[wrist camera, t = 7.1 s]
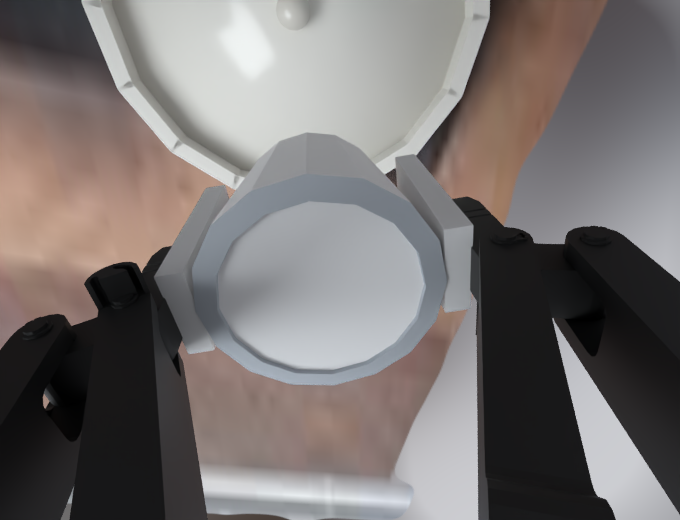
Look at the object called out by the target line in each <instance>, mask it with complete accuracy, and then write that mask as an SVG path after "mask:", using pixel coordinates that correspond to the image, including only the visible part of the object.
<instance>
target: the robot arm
mask: <svg viewBox="0 0 680 520" xmlns="http://www.w3.org/2000/svg"><path fill="white" fill-rule="evenodd" d="M395 162H396V176H397V188H398V190H399V191H400V192H401V193H402V194H403V195H404V196H405V197H406V198H407V199H408V200H409V201H410V202H411V204H412V205H413V206H414V207H415V209H416V210H417V211H418V213H419V214H420V215H421V217H422V218H423V219H424V220H425V222H426V223H427V224H428V226H429V227H430V228H431V230H432V231H433V232H434V233H435V235H436V236H437V237H438V239H439V240H440V245H441V250H442V256H443V261H444V267H445V272H446V278H447V284H446V287H445V291H444V294H443V298H442V301H441V305H442V307H443V309H444V311H445V313H446V312H453V311H459V310H465V309H470V308H471V292H472V294H473V296H474V297H475V299H476V300H477V319H476V321H477V322H476V335H477V403H478V404H477V408H478V512H479V513H478V517H479V518H478V519H479V520H616V519H615V516H614V513H613V510H612V508H611V507H610V505H609V504H608V502H607V500H606V499H603V498H600V497H598V496H597V495H596V493H595V491H594V489H593V485H592V482H591V478H590V474H589V470H588V465H587V462H586V457H585V453H584V449H583V445H582V441H581V436H580V432H579V429H578V424H577V420H576V416H575V411H574V407H573V403H572V399H571V395H570V391H569V387H568V383H567V378H566V374H565V370H564V366H563V362H562V358H561V353H560V349H559V345H558V341H557V337H556V333H555V329H554V324H553V321H552V318H554V321H555V323H556V324H557V326H558V327H559V329H560V331H561V332H562V334H563V335H564V337H565V338H566V340H567V341H568V343H569V344H570V346H571V347H572V349H573V351H574V352H575V353H576V355H577V357H578V358H579V360H580V361H581V363H582V364H583V366H584V367H585V369H586V371H587V372H588V374H589V375H590V377H591V378H592V380H593V381H594V383H595V384H596V386H597V388H598V389H599V391H600V392H601V394H602V395H603V397H604V398H605V400H606V401H607V403H608V405H609V406H610V408H611V409H612V411H613V412H614V414H615V415H616V417H617V418H618V420H619V421H620V423H621V425H622V426H623V428H624V429H625V430H626V432H627V434H628V435H629V437H630V438H631V440H632V442H633V443H634V444H635V446H636V448H637V449H638V451H639V452H640V454H641V455H642V457H643V458H644V460H645V462H646V463H647V464H648V466H649V468H650V469H651V471H652V472H653V474H654V475H655V477H656V478H657V480H658V482H659V483H660V485H661V486H662V488H663V489H664V491H665V492H666V494H667V496H668V497H669V499H670V500H671V502H672V503H673V505H674V506H675V508H676V509H677V511H678V512H679V514H680V282H679V281H678V280H677V279H676V278H674V277H673V276H672V275H671V274H670V273H668V272H667V271H666V270H664V269H663V268H662V267H661V266H660V265H659V264H657V263H656V262H655V261H654V260H653V259H651V258H650V257H649V256H648V255H647V254H645V253H644V252H643V251H642V250H641V249H639V248H638V247H637V246H636V245H634V244H633V243H632V242H631V241H630V240H628V239H627V238H626V237H625V236H624V235H622V234H620V233H618V232H617V231H614V230H610V229H607V228H605V227H598V226H590V227H580V228H575V229H573V230H571V231H569V232H568V233H567V235H566V239H565V244H536V243H534V242H533V238H532V237H531V236H530V234H528V233H526V232H525V231H523V230H520V229H516V228H508V227H504V226H503V225H502V224H501V223H500V222H499V221H498V220H497V219H496V218H495V217H494V216H493V215H491V213H490V212H489V211H488V210H487V209H486V208H485V207H484V206H483V205H482V204H481V203H480V202H479V201H477V200H475V199H472V198H470V197H462V198H456V199H451V198H450V196H449V195H448V194H447V193H446V192H445V190H444V189H443V188H442V187H441V186H440V184H439V183H438V182H437V181H436V180H435V179H434V177H433V176H432V175H431V174H430V173H429V171H428V170H427V169H426V168H425V167H424V165H423V164H422V163H421V162H420V161H419V159H418V158H417V157H416V156H415V155H414V154H411V155H405V156H398V157H395ZM228 200H229V197H228V194H227V190H226V187H225V185H222V186H216V187H210V188H206V189H205V191H204V192H203V194H202V196H201V198H200V199H199V201H198V203H197V204H196V206H195V208H194V209H193V211H192V213H191V215H190V216H189V218H188V220H187V221H186V223H185V225H184V227H183V228H182V230H181V232H180V233H179V235H178V237H177V238H176V240H175V242H174V244H173V245H172V246H169V247H163V248H162V249H160V250H159V251H158V252H157V253H155V254H154V255H153V256H152V257H151V258H150V260H149V261H148V263H147V266H145V268H144V269H143V271H142V273H141V271H140V269H139V267H138V265H137V264H136V263H133V262H122V263H117V264H113V265H110V266H108V267H105V268H103V269H101V270H99V271H97V272H95V273H94V274H92V275H91V276H90V277H89V278H88V279H87V280H86V282H85V283H84V285H85V287H86V288H87V290H88V292H89V294H90V296H91V297H92V299H93V301H94V303H95V304H96V306H97V308H98V317H97V318H94V319H91V320H88V321H85V322H82V323H79V324H76V325H74V326H71V325H70V323H69V322H68V320H67V319H66V317H65V316H64V315H60V314H54V315H48V316H44V317H39V318H36V319H34V321H33V320H32V321H30V322H28V323H26V324H25V326H23V327H21V328H20V329H18V330H17V331H16V332H15V333H14V334H13V335H12V336H11V337H10V338H9V340H8V341H7V342H6V343H5V345H4V346H3V347H2V348H1V350H0V520H61V517H62V515H63V512H64V509H65V507H66V504H67V502H68V499H69V497H70V494H71V492H72V489H73V487H74V491H73V499H72V507H71V513H70V520H208V518H207V512H206V506H205V499H204V493H203V486H202V480H201V474H200V467H199V461H198V454H197V448H196V442H195V435H194V429H193V423H192V416H191V410H190V403H189V397H188V391H187V384H186V378H185V371H184V365H183V361H182V359H181V357H180V355H179V353H178V349H179V346H180V343H181V341H183V343H184V345H185V347H186V350H187V352H188V354H193V353H199V352H205V351H212V350H214V349H215V343H214V341H213V340H212V338H211V336H210V335H209V333H208V331H207V330H206V328H205V326H204V325H203V323H202V322H201V320H200V318H199V317H198V315H197V313H196V312H195V303H194V290H193V278H192V267H193V264H194V262H195V260H196V257H197V255H198V253H199V250H200V248H201V246H202V243H203V241H204V239H205V237H206V234H207V232H208V230H209V227H210V225H211V224H212V222H213V221H214V220H215V218H216V217H217V216H218V214H219V213H220V211H221V210H222V209H223V207H224V206H225V205H226V203H227V202H228ZM43 394H45V396H46V397H47V398H48V400H49V401H50V402H49V404H48V405H47V407H46V409H45V408H44V406H43Z"/></svg>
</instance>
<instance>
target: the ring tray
mask: <svg viewBox="0 0 680 520" xmlns="http://www.w3.org/2000/svg"><path fill="white" fill-rule="evenodd" d="M82 4H83V7H84V9H85V12H86V14H87V17H88V19H89V21H90V24H91V26H92V29H93V31H94V33H95V36H96V38H97V41H98V43H99V46H100V48H101V50H102V53H103V55H104V58H105V60H106V62H107V65H108V67H109V70H110V72H111V74H112V77H113V79H114V82H115V84H116V87H117V89H118V91H119V92H120V93H121V94H122V95H123V96H124V98H125V99H126V100H127V101H128V102H129V103H130V105H131V106H132V107H133V108H134V109H135V110H136V112H137V113H138V114H139V115H140V116H141V117H142V119H143V120H144V121H145V122H146V123H147V124H148V126H149V127H150V128H151V129H152V130H153V131H154V133H155V134H156V135H157V136H158V137H159V138H160V140H161V141H162V142H163V143H164V144H165V146H166V147H167V148H168V149H169V150H170V151H171V152H172V153H173V154H175V155H177V156H179V157H180V158H182V159H184V160H185V161H187V162H189V163H190V164H192V165H194V166H195V167H197V168H199V169H200V170H202V171H204V172H205V173H207V174H209V175H211V176H212V177H214V178H216V179H217V180H219V181H221V182H222V183H224V184H226V185H227V186H229V187H231V188H232V189H236V190H237V188H238V187H239V185H240V184H241V183H242V181H243V180H244V179H245V177H246V176H247V174H248V173H249V172H250V170H251V169H252V168H253V166H254V165H255V163H256V162H257V161H258V159H259V158H261V157H262V156H263V155H264V154H265V153H266V152H267V151H269V150H270V149H271V148H272V147H273V146H274V145H275V144H277V143H278V142H279V141H281V140H284V139H287V138H290V137H294V136H297V135H300V134H303V133H306V132H308V133H319V134H330V135H336V136H338V137H340V138H342V139H343V140H345V141H347V142H349V143H351V144H353V145H355V146H356V147H358V148H360V149H361V150H362V151H363V152H364V153H365V154H366V156H367V157H368V158H369V159H370V160H371V161H372V162H373V163H374V164H375V165H376V166H377V167H378V168H379V169H380V170H381V171H382V173H383V174H384V175H385V174H386V173H388V172H389V171H391V170H393V169H394V168H396V162H395V157H398V156H405V155H411V154H414V155H415V156H416V155H417V154H418V152H419V151H420V150H421V149H422V147H423V146H424V145H425V143H426V142H427V141H428V140H429V138H430V137H431V136H432V135H433V133H434V132H435V131H436V129H437V128H438V127H439V126H440V124H441V123H442V122H443V121H444V119H445V118H446V117H447V115H448V114H449V113H450V112H451V110H452V109H453V108H454V107H455V105H456V104H457V103H458V102H459V100H460V99H461V98H462V96H463V93H464V90H465V87H466V84H467V81H468V78H469V75H470V73H471V70H472V67H473V64H474V61H475V58H476V55H477V53H478V50H479V47H480V44H481V41H482V38H483V35H484V32H485V30H486V27H487V24H488V21H489V18H490V0H82Z"/></svg>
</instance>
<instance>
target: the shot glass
mask: <svg viewBox="0 0 680 520" xmlns="http://www.w3.org/2000/svg"><path fill="white" fill-rule="evenodd" d="M192 278H193V290H194V303H195V312H196V313H197V315H198V317H199V318H200V320H201V322H202V323H203V325H204V326H205V328H206V330H207V331H208V333H209V335H210V336H211V338H212V340H213V341H214V343H215V345H216V346H217V347H218V348H219V349H221V350H222V351H223V352H225V353H226V354H227V355H229V356H230V357H231V358H233V359H234V360H235V361H237V362H238V363H240V364H241V365H242V366H244V367H245V368H246V369H248V370H249V371H250V372H253V373H257V374H260V375H263V376H266V377H269V378H272V379H275V380H279V381H282V382H285V383H288V384H294V385H337V384H340V383H344V382H348V381H352V380H355V379H359V378H363V377H366V376H370V375H374V374H376V373H378V372H379V371H381V370H383V369H384V368H386V367H387V366H389V365H391V364H392V363H394V362H395V361H397V360H399V359H400V358H402V357H403V356H405V355H407V354H408V353H410V352H411V351H412V350H413V348H414V347H415V346H416V345H417V343H418V342H419V341H420V340H421V338H422V337H423V336H424V335H425V334H426V332H427V331H428V330H429V329H430V327H431V326H432V325H433V324H434V322H435V321H436V319H437V315H438V312H439V308H440V305H441V301H442V298H443V294H444V291H445V287H446V284H447V278H446V272H445V267H444V261H443V256H442V250H441V245H440V240H439V239H438V237H437V236H436V235H435V233H434V232H433V231H432V230H431V228H430V227H429V226H428V224H427V223H426V222H425V220H424V219H423V218H422V217H421V215H420V214H419V213H418V211H417V210H416V209H415V207H414V206H413V205H412V204H411V202H410V201H409V200H408V199H407V198H406V197H405V196H404V195H403V194H402V193H401V192H400V191H399V190H398V188H397V187H396V186H395V185H394V184H393V183H392V182H391V181H390V180H389V179H388V178H387V177H386V176H385V175H384V174H383V173H382V171H381V170H380V169H379V168H378V167H377V166H376V165H375V164H374V163H373V162H372V161H371V160H370V159H369V158H368V157H367V156H366V154H365V153H364V152H363V151H362V150H361V149H360V148H358V147H356V146H355V145H353V144H351V143H349V142H347V141H345V140H343V139H342V138H340V137H338V136H336V135H330V134H319V133H308V132H306V133H303V134H300V135H297V136H294V137H290V138H287V139H284V140H281V141H279V142H278V143H277V144H275V145H274V146H273V147H272V148H271V149H270V150H269V151H267V152H266V153H265V154H264V155H263V156H262V157H261V158H259V159H258V161H257V162H256V163H255V165H254V166H253V168H252V169H251V170H250V172H249V173H248V174H247V176H246V177H245V179H244V180H243V181H242V183H241V184H240V185H239V187H238V188H237V190H236V191H235V192H234V194H233V195H232V196H231V198H230V199H229V200H228V202H227V203H226V205H225V206H224V207H223V209H222V210H221V211H220V213H219V214H218V216H217V217H216V218H215V220H214V221H213V222H212V224H211V225H210V227H209V230H208V232H207V234H206V237H205V239H204V241H203V243H202V246H201V248H200V250H199V253H198V255H197V257H196V260H195V262H194V264H193V267H192Z"/></svg>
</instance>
